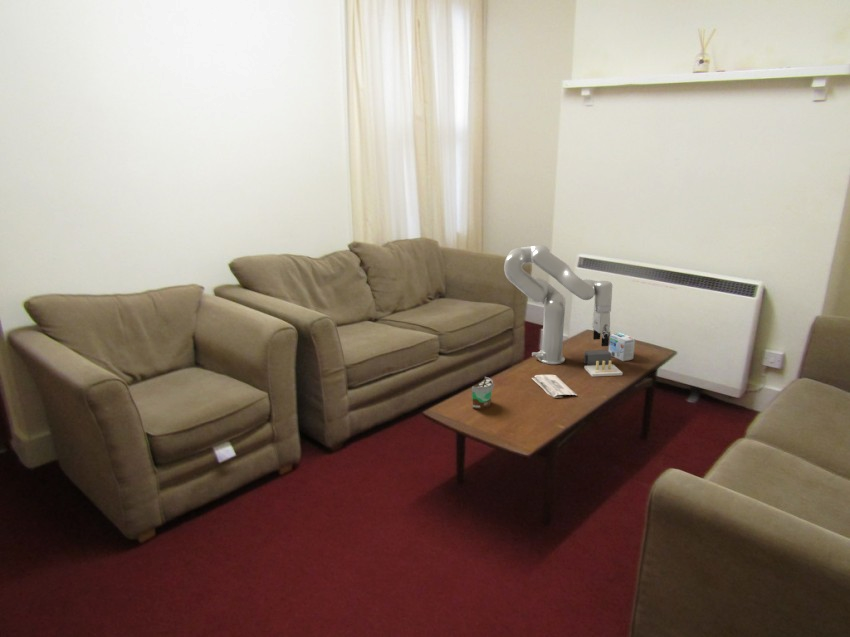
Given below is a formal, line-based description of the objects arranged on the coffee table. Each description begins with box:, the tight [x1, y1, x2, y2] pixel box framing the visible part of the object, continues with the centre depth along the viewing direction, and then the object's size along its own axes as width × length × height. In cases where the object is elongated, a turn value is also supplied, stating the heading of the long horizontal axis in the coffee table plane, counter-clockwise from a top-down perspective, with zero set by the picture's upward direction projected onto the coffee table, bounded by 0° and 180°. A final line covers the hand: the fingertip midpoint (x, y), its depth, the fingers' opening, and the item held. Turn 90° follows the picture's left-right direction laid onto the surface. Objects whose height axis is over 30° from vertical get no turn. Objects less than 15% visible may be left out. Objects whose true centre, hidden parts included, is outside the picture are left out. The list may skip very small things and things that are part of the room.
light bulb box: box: [608, 332, 636, 362], centre depth 277 cm, size 11×7×11 cm, turn 25°
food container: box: [470, 376, 495, 410], centre depth 227 cm, size 12×6×10 cm, turn 148°
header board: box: [583, 359, 623, 378], centre depth 260 cm, size 14×10×5 cm
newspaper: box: [531, 374, 579, 399], centre depth 245 cm, size 23×12×2 cm, turn 11°
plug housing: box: [583, 349, 612, 366], centre depth 269 cm, size 11×5×6 cm, turn 96°
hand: (600, 342), depth 266 cm, fingers open, 9 cm apart
